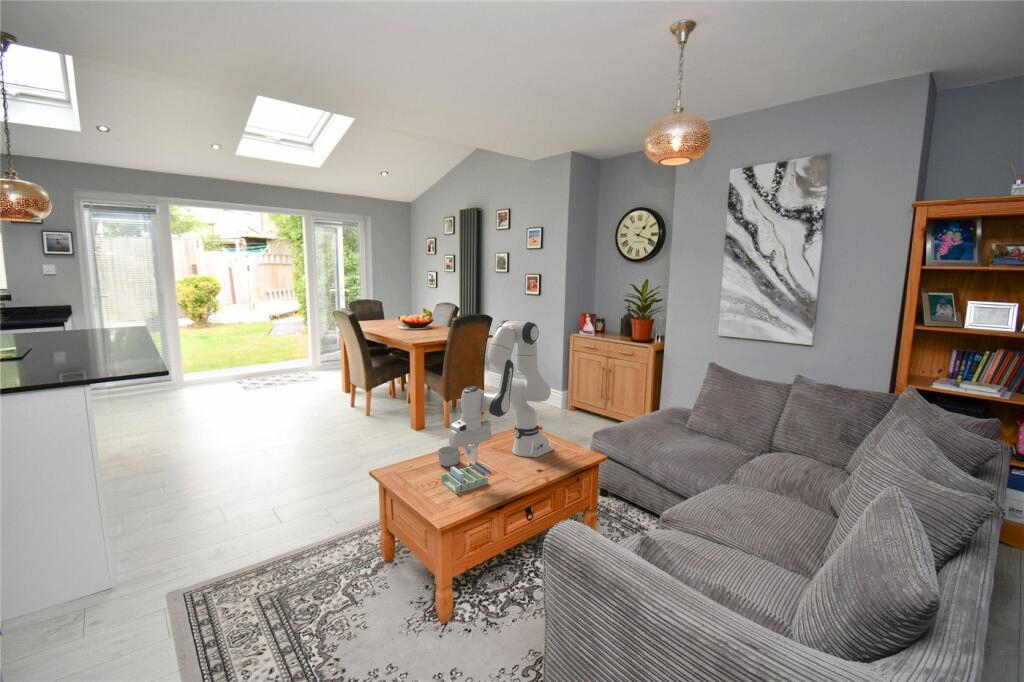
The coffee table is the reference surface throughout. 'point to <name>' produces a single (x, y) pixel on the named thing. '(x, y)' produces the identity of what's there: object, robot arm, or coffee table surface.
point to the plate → (472, 453)
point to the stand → (480, 468)
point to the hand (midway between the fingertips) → (470, 453)
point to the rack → (462, 479)
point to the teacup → (449, 456)
